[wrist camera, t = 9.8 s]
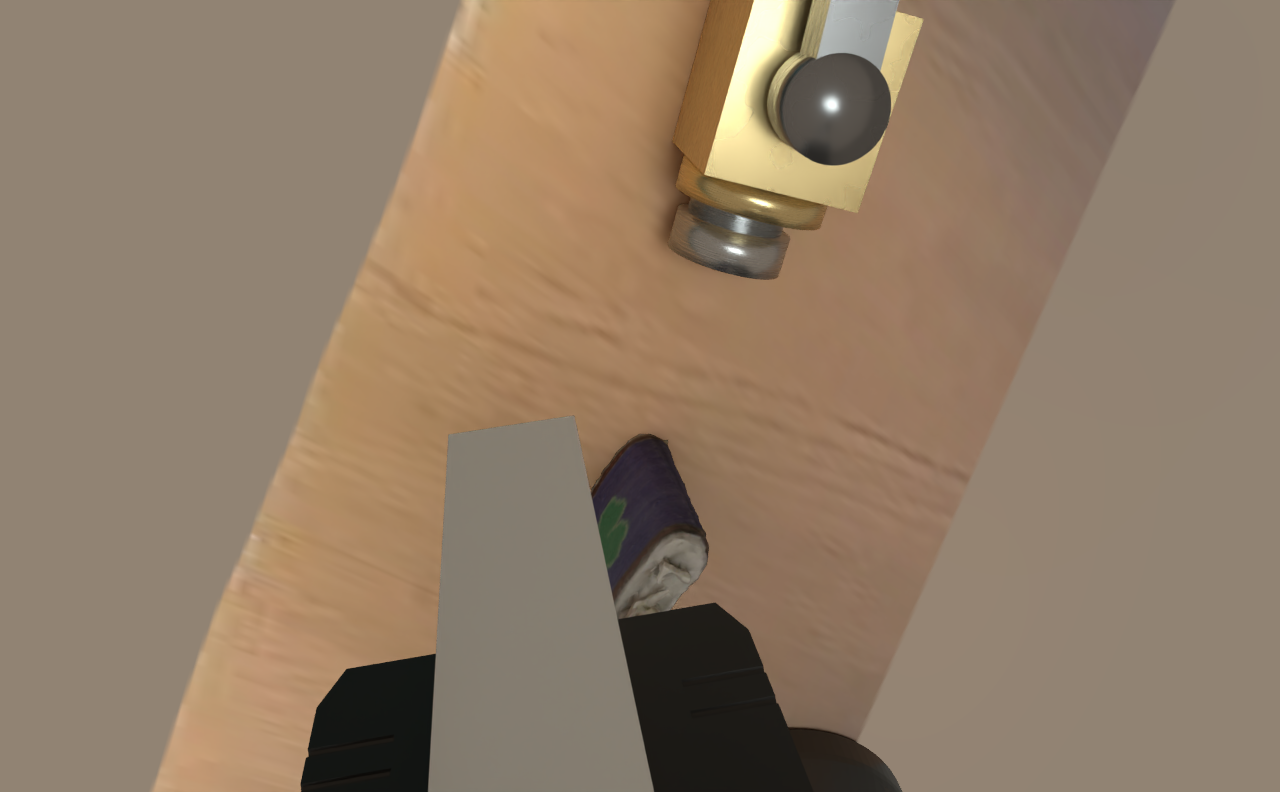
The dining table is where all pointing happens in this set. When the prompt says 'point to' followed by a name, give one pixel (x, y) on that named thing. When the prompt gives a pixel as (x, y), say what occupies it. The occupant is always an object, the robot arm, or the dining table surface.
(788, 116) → the lever
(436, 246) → the dining table surface
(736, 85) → the pipe valve
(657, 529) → the flask
